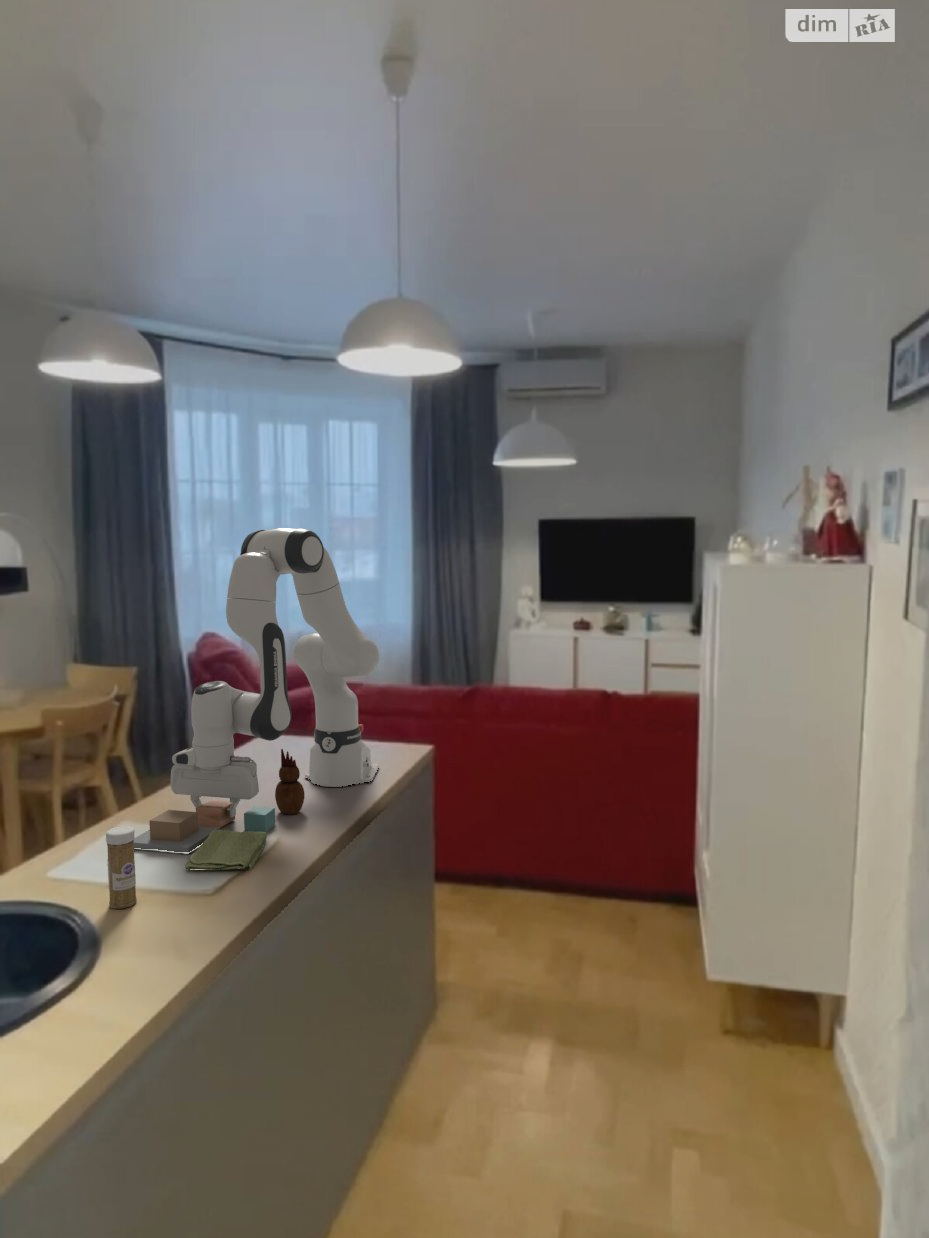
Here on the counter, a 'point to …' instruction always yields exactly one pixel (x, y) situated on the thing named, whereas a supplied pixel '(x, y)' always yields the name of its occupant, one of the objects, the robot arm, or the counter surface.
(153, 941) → the counter surface
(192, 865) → the washcloth
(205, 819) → the brick
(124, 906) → the sprinkles bottle
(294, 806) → the wooden figurine
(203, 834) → the baseplate
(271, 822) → the brick
